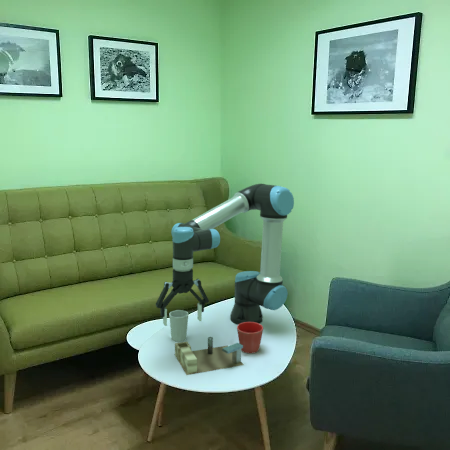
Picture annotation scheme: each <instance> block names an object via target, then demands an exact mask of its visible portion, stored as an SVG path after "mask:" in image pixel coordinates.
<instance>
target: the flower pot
mask: <svg viewBox="0 0 450 450" xmlns="http://www.w3.org/2000/svg"><path fill="white" fill-rule="evenodd" d="M236 331H237V338H238V343H239V344H241V345H243V348H241V353H246V354H255V353H257V352H259V350H260V347H261V343H262V338H263V333H264V327H263V325H262V324H261V323H260V324H259V323H255V322H243V323H240V324H239V325H238V324H237V326H236Z"/></svg>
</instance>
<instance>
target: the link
mask: <svg viewBox="0 0 450 450" xmlns="http://www.w3.org/2000/svg"><path fill="white" fill-rule="evenodd" d="M192 351H193V350H192V346H191V345H190V343H189V341H181V342H175V343H174V356H175V358H176V359H178V360H177V362H179V361H181V363H182V364H183V366H184V368H185V369H186V371H187V373H193V372H197V358H196V357H195V355H194V354H193V352H192Z"/></svg>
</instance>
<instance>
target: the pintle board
mask: <svg viewBox="0 0 450 450" xmlns="http://www.w3.org/2000/svg"><path fill="white" fill-rule="evenodd" d="M227 346H228V345H223V346H216V347H213V354H208V348H204V349H203V348H202V349H197V350H191V351H192V352H193V354H194V355H195V357H196V358H197V372H193V373H187V371H186V369H185V368H184V366H183V364H182V363H181V361H178V359H177V358H176V359H177V361H178V363H179V365H180V366H181V368H182V369H183V372H184V373H185V375H186V376H190V375H196V374H202V373H207V372H214V371H218V370H223V369H229V368H235V367H241V366H245V364H244V363H243V362H242V361H241V362H239V363H237V364H236V363H234V362H233V361H232V352H231V353H229V354H227V353H225V352H223V351H222V348H225V347H227Z"/></svg>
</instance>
